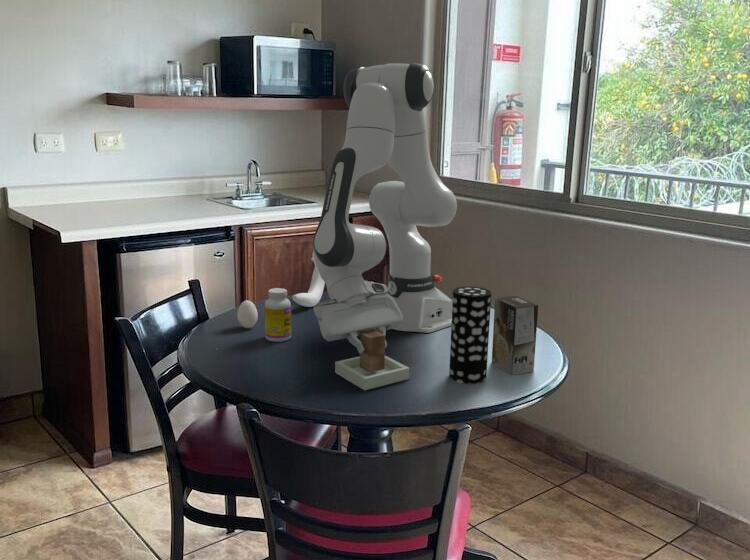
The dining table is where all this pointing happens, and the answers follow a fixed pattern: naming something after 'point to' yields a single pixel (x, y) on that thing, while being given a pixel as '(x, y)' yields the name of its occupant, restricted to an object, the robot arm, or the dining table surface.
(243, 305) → the egg
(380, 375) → the dish
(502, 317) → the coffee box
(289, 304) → the supplement bottle
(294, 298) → the banana
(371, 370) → the block
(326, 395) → the dining table surface
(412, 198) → the robot arm
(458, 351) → the spotted tube
